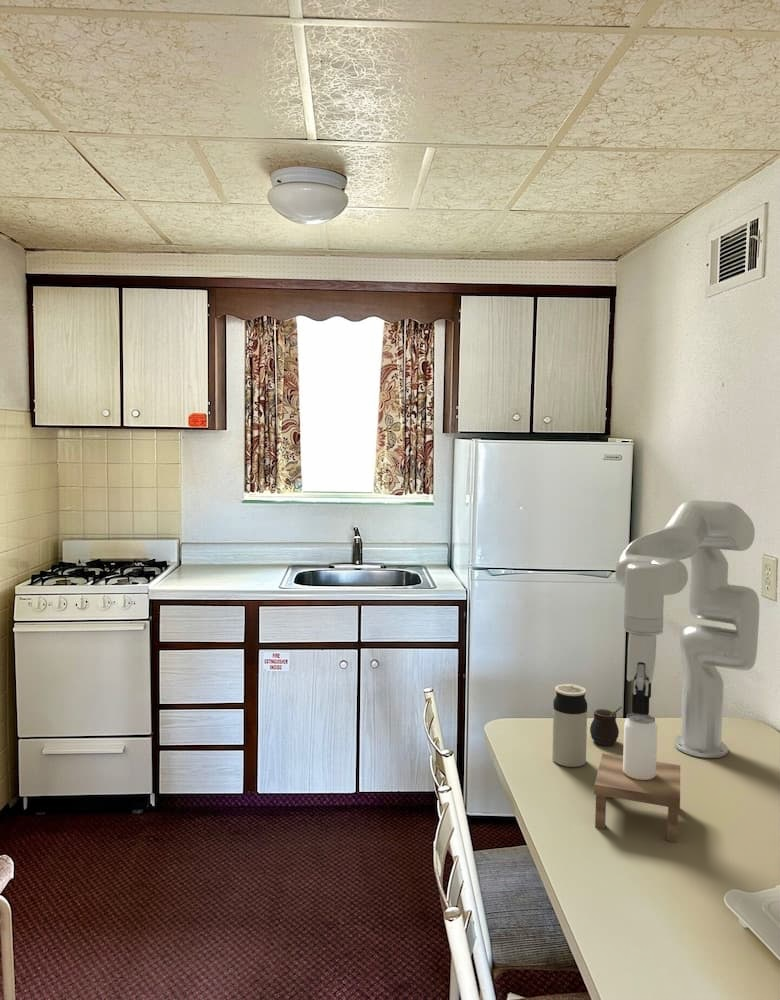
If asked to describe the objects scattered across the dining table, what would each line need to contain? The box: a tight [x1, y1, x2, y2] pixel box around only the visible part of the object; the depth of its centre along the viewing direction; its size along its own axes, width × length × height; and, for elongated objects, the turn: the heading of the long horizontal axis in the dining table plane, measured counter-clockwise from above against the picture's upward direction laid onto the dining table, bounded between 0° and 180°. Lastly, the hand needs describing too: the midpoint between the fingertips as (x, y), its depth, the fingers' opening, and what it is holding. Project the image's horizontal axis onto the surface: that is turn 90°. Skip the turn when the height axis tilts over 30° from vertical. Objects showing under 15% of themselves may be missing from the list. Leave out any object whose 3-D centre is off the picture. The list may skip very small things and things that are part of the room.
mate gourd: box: [589, 706, 622, 746], centre depth 191 cm, size 7×8×10 cm
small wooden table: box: [593, 753, 681, 843], centre depth 153 cm, size 16×16×9 cm
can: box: [622, 712, 658, 781], centre depth 152 cm, size 6×6×12 cm
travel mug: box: [551, 683, 588, 768], centre depth 179 cm, size 8×8×18 cm
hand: (641, 704), depth 151 cm, fingers open, 9 cm apart
